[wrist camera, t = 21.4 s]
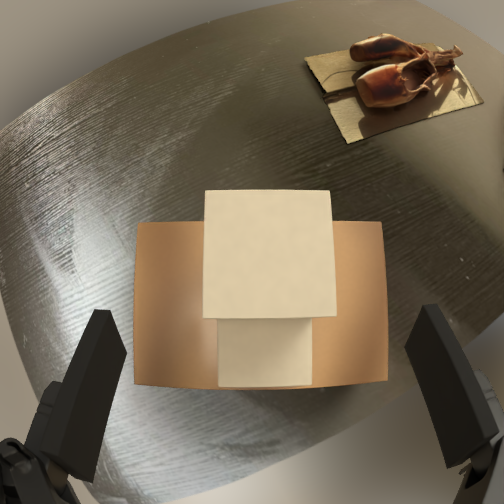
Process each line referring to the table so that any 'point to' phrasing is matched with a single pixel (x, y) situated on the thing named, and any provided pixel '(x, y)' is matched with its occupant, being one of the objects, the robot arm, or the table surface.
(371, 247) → the shoe shelf
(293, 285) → the beige block black base
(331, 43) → the table surface
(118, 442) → the table surface
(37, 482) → the robot arm
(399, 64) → the ballet pointe shoes
